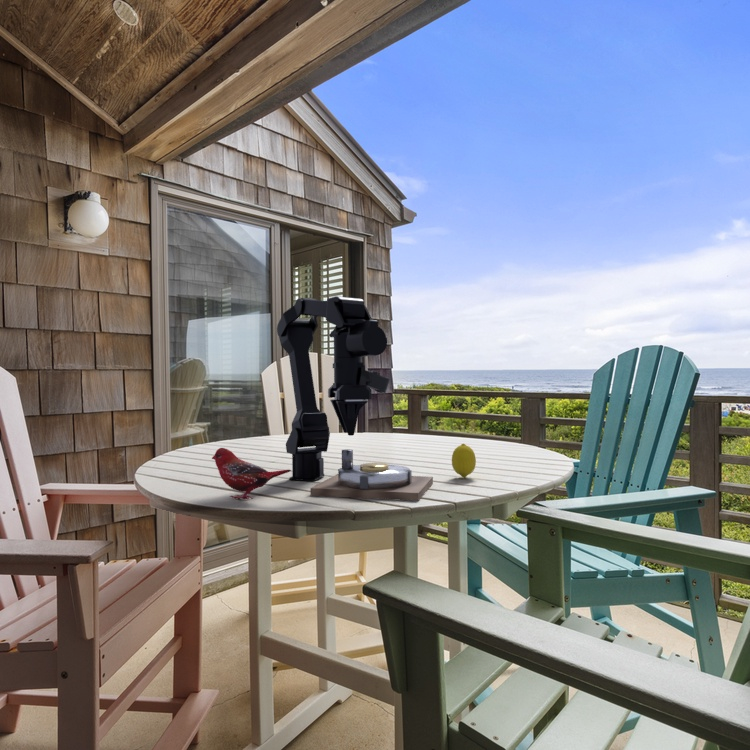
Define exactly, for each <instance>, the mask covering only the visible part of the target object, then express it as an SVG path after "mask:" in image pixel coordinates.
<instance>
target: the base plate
mask: <svg viewBox="0 0 750 750" xmlns="http://www.w3.org/2000/svg"><path fill="white" fill-rule="evenodd" d="M433 484H434V477H433V476H427V475H426V476H424V475H422V476H421V475H412V483H410V484H407V485H404V486H401V487H395V488H386V489H358V488H350V487H345V486H342V485H340V484H339V481H338V473H337V474H335V475H333V476H331V477H329V478H327V479H325V480H323V481H320V482H319V483H317V484H316V485H314V486H312V487H310V488H309V489H310V492H309V493H310V496H311V495H313V496H314V497H332V498H333V497H335V498H349V497H351V498H352V499H369V498H379V499H378V500H389V499H400V500H399V501H409V500H412V502H419V501H420V500H421V499H422V498H423V497H424V495H425V494H426V493H427V491H429V489H430V488H431V487H432V485H433ZM429 487H430V488H429ZM425 492H426V493H425ZM424 493H425V494H424ZM313 496H312V497H313ZM420 498H421V499H420Z"/></svg>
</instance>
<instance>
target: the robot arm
mask: <svg viewBox="0 0 750 750" xmlns="http://www.w3.org/2000/svg"><path fill="white" fill-rule="evenodd" d="M370 314H371V313H370V312H369V309H368V307H367V306H366V305H365V301H364V299H362V298H356V297H349V296H348V297H347V296H337V295H335V296H332V297H329V298H327V300H320V299H319V300H318V299H316V298H307V297H300V298H297V299H296V301H295V302H294V304H293V305H292V306H291V307H290V308H289V309H287V310H286V311H284V312H283V313H282V315H281V317H280V319H279V321H278V323H277V327H276V333H277V336H278V339H279V342H280V346H281V347H282V348H283V350H284V351H285V352H286V353H287V355H288V358H289V365H290V372H291V381H292V387H293V394H294V401H295V407H296V413H295V415H294V418H293V420H292V422H291V431H290V433H289V436H288V437H287V440H286V443H285V450H286V453H287V454H291V456H292V457H291V458H292V459H291V461H292V463H291V465H292V469H291V473H292V474H291V475H292V476H290V477H288V479H289V480H291V481H311V482H312V481H317V480H319V479H321V478H323V477H325V473H324V471H325V469H324V461H325V460H324V458H323V455H322V454H323V453H322V452H324V453H326V452H327V451H328V447H329V442H330V435H331V433H330V427H329V424H328V415H327V413H326V412H321V411H320V409H319V408H318V404H317V398H316V392H315V383H314V379H313V371H312V366H311V358H310V348H311V347H312V344H313V342H314V334H315V332H316V330H317V329H318V328H319V325H318V319H317V317H320V318H325V320H326V322H328V323H330V324H332V325H334V326H335V327H334V329H333V330H332V331H330V333H329V338H333V363H332V369H333V382H332V385H331V386H330V387H329V388H328V389H327V390H328V391H327V394H328V395H327V397H328V398H330V403H331V406H332V408H333V409H334V411H335V414H336V417H337V420H338V421H339V424H340V426H341V429H342V431H343V434H346V433H347V435H348V436H350V437H351V436H354V435H355V432H356V427H357V423H358V418H359V413H360V410H361V409H362V408H363V407H364V406H365V405H367V404H368V403H369V400H372V397H373V396H372V390H373V391H375V392H377V393H381V394H386V392H387V389H388V388H389V387H388V386H389V383H390V382H391V381H390V380H391V379H390V378H389V377H387V376H384V375H381V373H380V372H379V371H375V370H374V369H373V370H371V371H369V370H367V369H366V364H365V363H364V362H363V360H362V357H374V356H379V355H381V354H383V353H384V352H385V350H386V349H387V346H388V337H387V335H386V333H385V331H384V330H383V329H382V328H381V327H380V326H379V320H374V319H373V318H372V316H371V315H370ZM301 316H311V317H310V319H308V318H300V317H301ZM331 398H333V399H331Z"/></svg>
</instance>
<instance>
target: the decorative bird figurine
mask: <svg viewBox="0 0 750 750" xmlns="http://www.w3.org/2000/svg"><path fill="white" fill-rule="evenodd" d="M211 460H214V461H215V462H214V463H215V465H216V467H217V470H218V473H219V476H220V478H221V480H222V481H223V482H224V483H225V485H227V486H228V487H229V488H231V489H233V490H235V491H238V492H242V494H241V495H235V496H234V495H229V498H234V499H236V498H243V499H242V500H250V499H254V498H252V497H251V496H250V495H249V494H250V493H251V492H252V491H254V490H255V489H258V488H262V487H264V486H265V485H266V484H267V483H268V482H269V481H270V480H272V479H273V478H274V479H275V478H276V477H278V476H279V477H280V476H282V475H284V474H287V473H290V472H292V469H283V470H274V471H268V470H266V469H264V468H263V467H261V466H259V465H256V464H254V463H251V462H248V461H245V460H242V459H241V458H239V457H238V456H237V455H236V454H234V453H233V452H232V450H229V449H227V448H225V447H219V448H218V449H217V450H216V451H215V453H214V455H213V456H212V457H211ZM243 492H244V493H243Z"/></svg>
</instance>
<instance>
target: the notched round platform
mask: <svg viewBox="0 0 750 750" xmlns="http://www.w3.org/2000/svg"><path fill="white" fill-rule="evenodd" d="M337 470H338V473H337V474H338V481H339V484H340V485H342V486H345V487H350V488H358V489H386V488H395V487H401V486H404V485H407V484H410V483H412V476H413V474H412V470H411V469H410V468H409V467H407V466H405V465H400V464H399V465H398V464H390V463H389V464H388V463H385V462H366V463H361V464H355V465H354V449H341V467H340V468H338V469H337Z"/></svg>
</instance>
